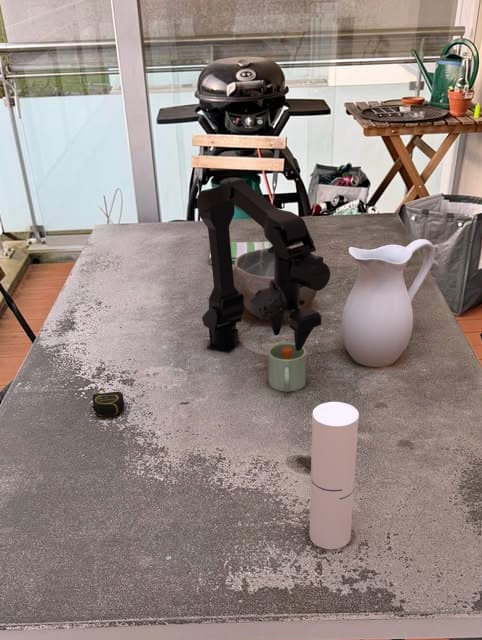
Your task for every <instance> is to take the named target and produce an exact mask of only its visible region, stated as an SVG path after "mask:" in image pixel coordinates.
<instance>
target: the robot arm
mask: <svg viewBox="0 0 482 640" xmlns="http://www.w3.org/2000/svg"><path fill="white" fill-rule="evenodd" d="M196 206H197V209H198V214H199V218H200V219H201V221H202V222H203V224H204V225H205V226H206V227H207V235H208V243H209V254H210V253H211V263H212V264H211V273H212V281H213V282H212V283H213V288H212V291H211V292H210V295H209V298H208V310H207V311H206V312H205V313H204V314H203V315H202V317H201V319H202V323H203V326H204V327H206V328H208V333H209V344H208V345H207V347H206V349H207V350H212V351H219V352H224V353H231V352H232V351H233V350H234V349H235V347H237V346H238V345H239V344H240V340H239V329H238V328H237V323H240V322H242V318H243V315H244V312H245V310H244V309H245V306H244V296H243V294H242V293H239V292H238V290H237V289H236V288H235V286H234V277H233V266H234V265H233V264H232V255H231V244H230V242H231V233H230V225H231V223H232V221H233V218H234V216H235V214H236V213H235V207H238V208H239V210H241V211H242V212H243V213H244V214H246V215H247V216H248V217H250V218H251V219H252V220H253V221H254V222H255V223H257V224H258V225H259V226H260V227H261V228H262V229H263V233H264V237H265V238H266V240H267V242H268V241H269V242H270V243H271V244H272V245H273V246H272V247H271V248H269V249H268V253H271V254H273V255H274V280H271V283H269V288H265V289H261V290H258V292H257V293H256V294H255V297H254V298H253V299H251V300H250V303H251V306H252V308H253V311H254V313H255V314H257V315H258V316H259V317H258V316H257V317H258V318H259V319H261V320H267V319H266V318H268V317H269V323H270V326H271V329H272V332H273V335H274V336H275V337H277V336H279V335H280V334H281V333H280V332H281V330H282V325H283V321H284V320H283V317H284V312H285V311H286V312H288V313H290V314H291V315H290V316H289V318H288V322H289V325H288V327H289V328H290V329H291V330H292V331H293V335H294V336H293V337H294V344H295V347H296V350H297V351H299V350H301V349H302V347H304V345H305V343H306V341H307V340H308V337H309V336H310V334H311V333H312V331H313V330H314V328H317V327H318V326H322V322H323V315H322V314H321V313H320V312H319V311H317V310H315V309H314V308H312V307H310V306H308V307H307V308H305V309H300V308H299V306H300V305H303V304H304V299H302V298H301V287H308V288H310V289H312V290H315V291H317V292H320V291H322V290H323V289H325V287H326V286H327V285H328V283H329V281H330V278H331V270H330V268H329V265H328V264H327V263H325V262H324V257H323V256H321V255H316V254H313V253H314V252H316V251H317V248H316V245H315V243H314V242H315V241H314V240H313V238H312V236H311V234H310V232H309V228H308V227H307V225H306V222H305V220H304V219H303V218H302V217H301V216H300V215H298V214H296V213H294V212H292V211H289V210H284V209H280V208H278V207H276V206H275V205H274V204H273V203H271V202H270V201H269V200H267V198H265V197H264V196H263V195H262V194H260V192H258V191H257V190H255V189H254V188H252V187H251V186H250V185H249V184H248V182H247V180H246V179H244V178H241V177H239V178H235V179H231V180H226V181H224V183H222V184H220V185H218V186H214V187H210V188H207V189H203V190H200V191H199V193H198V195H197V196H196ZM299 244H301V245H299ZM296 245H298V246H296ZM293 246H296V247H293Z"/></svg>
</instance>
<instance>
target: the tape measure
mask: <svg viewBox="0 0 482 640" xmlns="http://www.w3.org/2000/svg"><path fill="white" fill-rule="evenodd" d="M92 409H93V412H94V413H96V415H98V416H100V417H113V416H116V415H119V414H121V413H122V412H123V411H124V409H125V400H124V394H123V392H121V391H110V392H102V393H101V392H100V393H95V394H92Z"/></svg>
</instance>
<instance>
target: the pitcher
mask: <svg viewBox="0 0 482 640" xmlns="http://www.w3.org/2000/svg"><path fill="white" fill-rule="evenodd" d="M421 248H424V257H423V262H422V264H421V266H420V269H419V272H418V273H417V275H416V276H415V278H414V281H413V282H412V283H411V285H410V287H409V289H407V286H406V283H405V279H404V268H406V266H407V264H408V262H409V261H410V259H411V258H412V256H413V254H414V253H415V252H417V251H418V250H419V249H421ZM348 254H349V255H350V257H351V258H353V260H354V261H356V262H357V264H358V273H357V277H356V279H355V281H354V284H353V285H352V288H351V290H350V292H349V294H348V296H347V299H346V302H345V304H344V307H343V312H342V315H341V337H342V340H343V344H344V346H345V349H346V351H347V352H348V354H349V356H350V357H351V359H352V360H353V361H354V362H355V363H357V364H359V365H362V366H365V367H370V368H381V367H387V366H389V365H392V364H393V363H395V362H396V361H398V359H399V358H400V357H401V356H402V354H403V353H404V352H405V350H406V349H407V347H408V345H409V344H410V343H409V342H410V340H411V337H412V333H413V327H414V311H413V306H412V302H413V299H414V298H415V295H416V294H417V292H418V291H419V289H420V287H421V286H422V285H423V283H424V281H425V279H426V277H427V276H428V275H429V272H430V271H431V268H432V267H433V264H434V261H435V258H436V257H435V256H436V249H435V246H434V244H433V243H432V242H431V241H430V240H428V239H425V238H418V239H415V240H413V241H411V242H410V243H408V244H407V245H406V246H403V245H399V244H386V245H382V246H379V247H377V248H374V249H373V248H372V249H366V248H365V249H364V248H358V247H356V246H355V247H353V246H349V248H348Z"/></svg>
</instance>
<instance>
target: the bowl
mask: <svg viewBox="0 0 482 640" xmlns="http://www.w3.org/2000/svg"><path fill="white" fill-rule="evenodd" d="M268 249H269V248H265V249H262V250H255V251H251V252H248V253H245V254H243V255H241V256H240V257H238V258H237V260H236V261H235V264H233V265H232V266H233V277H234V286H235V288H236V289H237V290H238V292H239V293H242V294H243V296H244V306H245V309H244V311H247V312H249V314H251V315H253V316H255V317H257V318H260V317H259V316H258V315H257V314H255V313H254V311H253V308H252V306H251V303H250V300H251V299H253V298H254V297H255V294H256V293H257V292H258V290H261V289H265V288H269V283H271V280H274V255H273V254H271V253H268ZM317 292H318V291H315V290H312V289H310V288H308V287H301V298H302V299H304V304H303V305H300V306H299V308H300V309H305V308H309V307H310V306H311V304H312V303H313V302H314V300H315V298H316V296H317ZM290 315H291V314H290V313H288V312H286V311H285V312H284V317H283V321H284V320H289V316H290ZM265 320H269V317H268V318H266V319H265ZM269 321H270V320H269Z"/></svg>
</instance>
